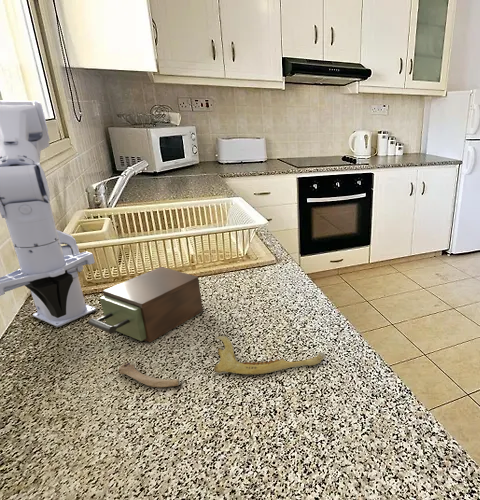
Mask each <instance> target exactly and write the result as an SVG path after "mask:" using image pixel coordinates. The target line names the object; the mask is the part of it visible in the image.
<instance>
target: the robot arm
mask: <svg viewBox="0 0 480 500" xmlns="http://www.w3.org/2000/svg"><path fill="white" fill-rule="evenodd" d="M50 142H51V138H50V135H49V128H48V124H47V120H46V117H45V112H44V109H43V104H42V103H41V102H40V101H38V100H37V99H34V100H5V99H4V100H0V216H1V218H2V219H5V220H4V221H5V224H6V227H7V230H8V233H9V236H10V239H11V243H12V245H13V248H14V251H15V254H16V258H17V260H18V265H19V268H18V269H16V270H14V271H11V272H9V273H7V274H5V275H3V276H0V296H3V295H6V294H5V293H7V292H9V291H12V290H15V289H18V288H22V287H26V288H27V289H28V290H29V291H30V294H31V297H32V299H33V302H34V305H35V306H34V307H35V309H36V312H35V313H33V314H32V317H34V318H35V319H38V320H41V321H42V322H44V323H47V324H50V325H51V326H54V327H56V328H60V327H62V326H65V325H66V324H69V323H72V322H74V321H75V320H78V319H80V318H82V317H85V316H86V315H89V314H91V313H93V312H95V311H97V308H96V307H94V306H91V305H89V304H86V299H85V297H84V292H83V289H82V285H81V282H80V278H79V273H82V271H83V270H84V266H86V265H89V266H90V265H94V264H95V263H96V261H95V257H94V253H92V252H89V251H82V252H80V249H79V246H78V244H77V240H76V238H75V237H74V236H73V235H72V234H69V233H67V232H63V231H61V230H58V229H57V225H56V221H55V217H54V213H53V209H52V206H51V205H52V204H51V192H50V187H49V184H48V180H47V176H46V173H45V170H44V169H43V167H42V165H41V163H40V162H41V152H42V151H43V150H45V149H47V148H49V147H50Z"/></svg>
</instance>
